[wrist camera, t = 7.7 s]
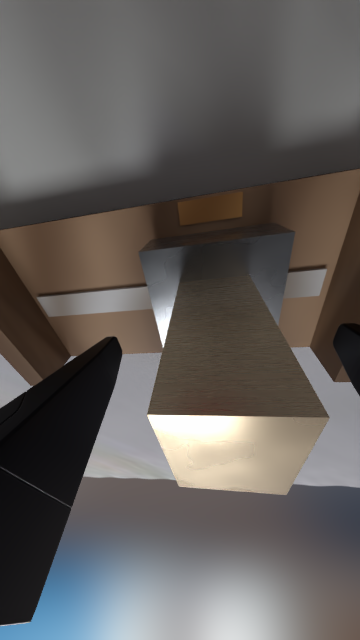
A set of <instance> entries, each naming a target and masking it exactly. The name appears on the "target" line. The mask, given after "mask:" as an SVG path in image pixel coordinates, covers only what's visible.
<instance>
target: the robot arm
mask: <svg viewBox="0 0 360 640" xmlns="http://www.w3.org/2000/svg"><path fill="white" fill-rule="evenodd" d="M333 346H334V349H335V351H336V353H337V355H338V357H339V359H340V361H341V363H342V365H343V367H344V369H345V371H346V373H347V375H348V377H349V379H350V381H351V383H352V384H353V386H354V388H355V389H356V391H357V393H358V394H359V396H360V325H359V324H356V323H342V324H340V325H339V326H338V329H337V331H336V334H335V336H334V338H333ZM121 358H122V348H121V346H120V343H119V341H118V339H117V337H115V336H108V337H105V338H104V339H102V340H101V341H99V342H98V343H96V344H95V345H94V346H92V347H91V348H89V349H88V350H86V351H85V352H83V353H82V354H80V355H79V356H77V357H76V358H74V359H73V360H71V361H70V362H68V363H67V364H66V365H64V366H63V367H61V368H60V369H58V370H57V371H55V372H54V373H52V374H51V375H49V376H48V377H46V378H45V379H43V380H42V381H40V382H39V383H37V384H36V385H35V386H33V387H32V388H30V389H29V390H27V392H24V393H23V394H21V395H20V396H18V397H17V398H15V399H14V400H12V401H11V402H9V403H8V404H6V405H5V406H3V407H2V408H0V626H6V625H14V624H22V623H29V622H31V620H32V617H33V615H34V612H35V610H36V607H37V604H38V601H39V599H40V596H41V593H42V590H43V587H44V585H45V582H46V579H47V576H48V573H49V571H50V567H51V565H52V562H53V559H54V556H55V554H56V551H57V548H58V545H59V542H60V540H61V537H62V534H63V531H64V528H65V525H66V523H67V520H68V517H69V514H70V511H71V507H72V505H73V502H74V499H75V497H76V494H77V491H78V488H79V485H80V483H81V480H82V477H83V474H84V471H85V468H86V466H87V463H88V460H89V457H90V454H91V452H92V449H93V446H94V443H95V440H96V437H97V435H98V432H99V429H100V426H101V423H102V420H103V418H104V415H105V412H106V409H107V406H108V404H109V401H110V398H111V395H112V392H113V389H114V386H115V383H116V379H117V375H118V371H119V367H120V362H121Z"/></svg>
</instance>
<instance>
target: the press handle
mask: <svg viewBox="0 0 360 640" xmlns="http://www.w3.org/2000/svg"><path fill="white" fill-rule="evenodd" d="M294 236H295V231H293V230H290V229H288V228H286V227H284V226H281V225H279V224H277V223H275V222H274V223H266V224H259V225H252V226H245V227H238V228H231V229H223V230H216V231H209V232H202V233H195V234H188V235H181V236H173V237H166V238H159V239H152V240H150V241H149V242H148V243H147V244H146V245H145V246H144V247H143V248H142V249H141V250H140V251H139V252H138V253H139V257H140V261H141V265H142V269H143V272H144V276H145V280H146V284H147V288H148V291H149V295H150V299H151V303H152V307H153V310H154V314H155V318H156V322H157V326H158V330H159V333H160V337H161V341H162V345H163V351H162V355H161V359H160V364H159V368H158V372H157V376H156V380H155V384H154V388H153V392H152V396H151V401H150V405H149V409H148V413H147V416H148V418H149V420H150V423H151V425H152V427H153V429H154V431H155V434H156V436H157V438H158V440H159V443H160V445H161V447H162V449H163V452H164V454H165V456H166V458H167V461H168V463H169V465H170V467H171V469H172V472H173V474H174V476H175V478H176V481H177V483H178V485H179V486H180V487H191V488H205V489H217V490H230V491H243V492H257V493H268V494H282V495H286V494H287V493H288V491H289V489H290V487H291V486H292V484H293V482H294V480H295V479H296V477H297V475H298V473H299V471H300V470H301V468H302V466H303V464H304V463H305V461H306V459H307V457H308V455H309V454H310V452H311V450H312V448H313V447H314V445H315V443H316V441H317V439H318V438H319V436H320V434H321V432H322V431H323V429H324V427H325V425H326V423H327V422H328V420H329V418H330V417H329V416H328V414H327V412H326V410H325V409H324V407H323V405H322V403H321V401H320V400H319V398H318V396H317V394H316V393H315V391H314V389H313V387H312V385H311V384H310V382H309V380H308V378H307V377H306V375H305V373H304V371H303V369H302V368H301V366H300V364H299V362H298V361H297V359H296V357H295V355H294V353H293V352H292V350H291V348H290V346H289V345H288V343H287V341H286V339H285V337H284V336H283V334H282V332H281V330H280V329H279V327H278V324H279V319H280V313H281V308H282V302H283V297H284V291H285V286H286V280H287V275H288V269H289V264H290V258H291V253H292V247H293V242H294Z"/></svg>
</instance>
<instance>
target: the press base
mask: <svg viewBox="0 0 360 640" xmlns="http://www.w3.org/2000/svg"><path fill="white" fill-rule="evenodd" d="M274 222H275V223H277V224H279V225H281V226H284V227H286V228H288V229H290V230H293V231H295V236H294V242H293V247H292V253H291V258H290V264H289V269H288V275H287V280H286V286H285V291H284V297H283V302H282V308H281V313H280V319H279V324H278V327H279V329H280V330H281V332H282V334H283V336H284V337H285V339H286V341H287V343H288V345H289V346H290V347H310V348H311V349H312V351H313V352H314V354H315V355H316V357H317V358H318V359H319V361H320V362H321V364H322V365H323V367H324V368H325V370H326V371H327V372H328V374H329V375H330V377H331V378H332V380H333V381H334V382H351V381H350V379H349V377H348V375H347V373H346V371H345V369H344V367H343V365H342V363H341V361H340V359H339V357H338V355H337V353H336V351H335V349H334V346H333V338H334V336H335V334H336V331H337V329H338V326H339V325H340V324H342V323H356V324H359V325H360V168H358V169H352V170H346V171H340V172H335V173H329V174H323V175H317V176H311V177H305V178H300V179H294V180H288V181H282V182H276V183H270V184H265V185H259V186H253V187H247V188H241V189H235V190H230V191H224V192H218V193H212V194H206V195H200V196H195V197H189V198H183V199H177V200H171V201H165V202H160V203H154V204H148V205H142V206H136V207H130V208H125V209H119V210H113V211H107V212H101V213H95V214H90V215H84V216H78V217H72V218H66V219H60V220H54V221H49V222H43V223H37V224H31V225H25V226H19V227H14V228H8V229H2V230H0V353H1V355H2V356H3V357H4V358H5V359H6V360H7V361H8V362H9V363H10V364H11V365H12V366H13V367H14V368H15V369H16V371H17V372H18V373H19V374H20V375H21V376H22V377H23V378H24V379H25V380H26V381H27V382H28V383H29V384H30V386H35V385H36V384H37V383H39V382H40V381H42V380H43V379H45V378H46V377H48V376H49V375H51V374H52V373H54V372H55V371H57V370H58V369H60V368H61V367H63V366H64V364H65V363H66V362H67V360H68V359H69V358H70V357H71V356H79V355H80V354H82V353H83V352H85V351H86V350H88V349H89V348H91V347H92V346H94V345H95V344H96V343H98V342H99V341H101V340H102V339H104V338H105V337H108V336H115V337H117V339H118V341H119V343H120V346H121V348H122V354H135V353H160V352H162V351H163V345H162V341H161V337H160V333H159V330H158V326H157V322H156V318H155V314H154V310H153V307H152V303H151V299H150V295H149V291H148V288H147V284H146V280H145V276H144V272H143V269H142V265H141V261H140V257H139V253H138V252H139V251H140V250H141V249H142V248H143V247H144V246H145V245H146V244H147V243H148V242H149V241H150V240H152V239H159V238H166V237H173V236H181V235H188V234H195V233H202V232H209V231H216V230H223V229H231V228H238V227H245V226H252V225H259V224H266V223H274Z"/></svg>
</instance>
